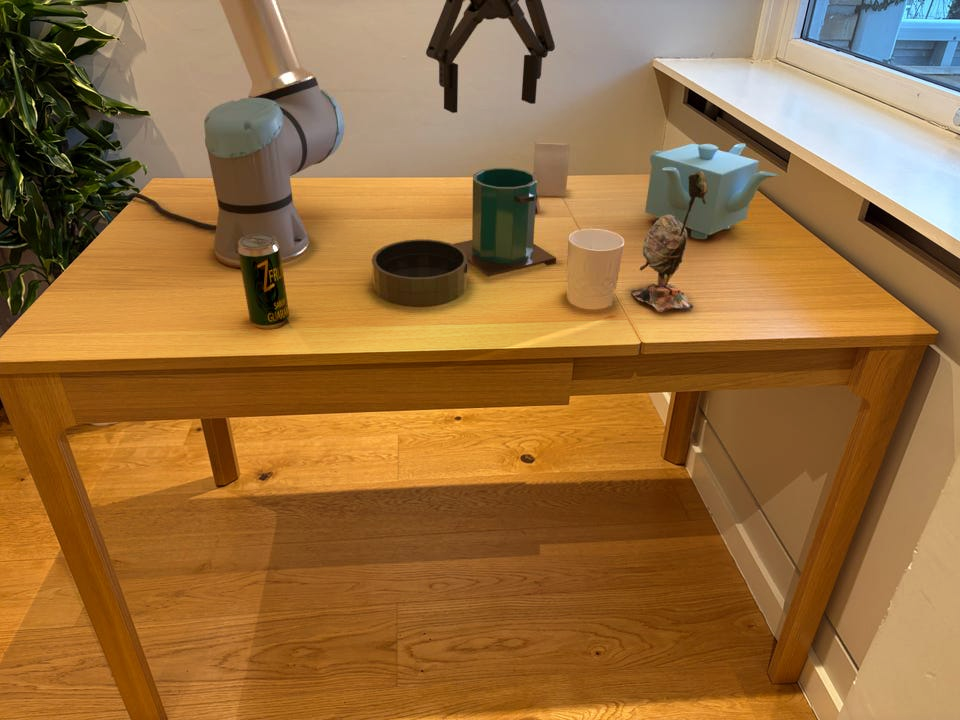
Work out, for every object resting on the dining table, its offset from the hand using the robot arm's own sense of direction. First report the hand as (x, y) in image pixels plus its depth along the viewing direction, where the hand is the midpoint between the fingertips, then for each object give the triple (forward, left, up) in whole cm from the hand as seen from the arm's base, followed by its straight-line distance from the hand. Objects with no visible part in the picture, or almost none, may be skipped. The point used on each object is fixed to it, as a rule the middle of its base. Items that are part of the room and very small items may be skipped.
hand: (490, 106), depth 108 cm
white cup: (+21, +5, -25) cm, 33 cm away
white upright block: (-21, +27, -25) cm, 42 cm away
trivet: (+1, +2, -24) cm, 24 cm away
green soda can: (+4, -38, -25) cm, 45 cm away
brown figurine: (+25, +15, -25) cm, 38 cm away
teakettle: (+7, +41, -25) cm, 48 cm away
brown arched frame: (-17, +16, -25) cm, 34 cm away
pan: (+5, -15, -24) cm, 29 cm away
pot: (+1, +2, -23) cm, 23 cm away
